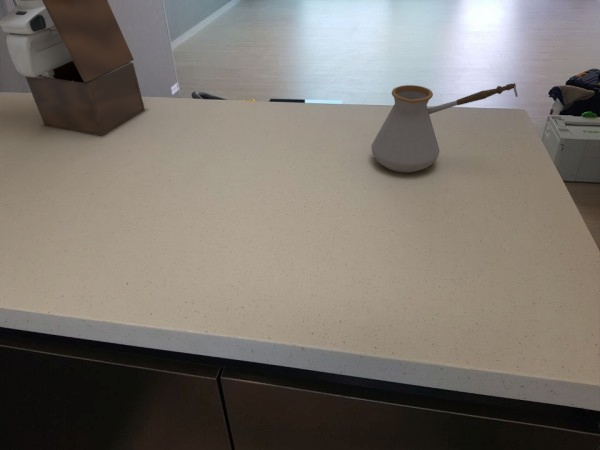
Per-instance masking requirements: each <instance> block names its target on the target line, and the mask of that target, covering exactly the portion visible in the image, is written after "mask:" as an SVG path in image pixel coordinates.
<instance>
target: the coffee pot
mask: <svg viewBox="0 0 600 450" xmlns="http://www.w3.org/2000/svg"><path fill="white" fill-rule="evenodd" d="M510 90H513V92H514V95H515V98H517V97H518V92H517V91H518V90H517V84H516V83H515V82H514V83H508V84H506V85H504V86H501V85H497V86H496V87H495V88H491V89H484V90H480V91H477V92H475V93H472V94H470V95H466V96H464V97H461V98H458V99H456V100H453V101H449V102H446V103H442V104H439V105H435V106H432V107H428V103H429V101H430V100H431V99H433V96H434V92H433V91H432V90H431V89H429V88H428V87H425V86H422V85H421V86H420V85H415V84H414V85H413V84H406V85H400V86H396V87H394V88H393V89H392V90H391V96H392V97H393V99H394V104H393V106H392V108H391V109H390V111H389V113H388V115H387V116H386V119H385V120H384V122H383V124H382V126H381V127H380V129H379V131H378V132H377V134H376V136H375V138H374V140H373V141H372V143H371V153H372V155H373V157H374V159H375V160H376V161H377V162H378V163H379V164H380V165H381V166H383V167H385V168H386V169H387V170H390V171H392V172H396V173H402V174H405V173H406V174H411V173H416V172H419V171H422V170H425V169H426V168H428V167H430V166H432V165H433V163H435V161H436V160H437V159H438V157H439V156H440V155H439V154H440V147H439V143H438V140H437V136H436V133H435V129H434V126H433V123H432V119H431V114H434V113H438V112H441V111H444V110H447V109H450V108H453V107H456V106H461V105H465V104H469V103H473V102H478V101H481V100H485V99H487V98H490V97H492V96H494V95H497V94H498V95H501V94H502V93H503V92H506V91H510Z"/></svg>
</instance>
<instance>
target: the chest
mask: <svg viewBox="0 0 600 450" xmlns="http://www.w3.org/2000/svg"><path fill="white" fill-rule="evenodd" d="M53 71H54V75H52V76H53V77H54V78H55V79H54V78H47V77H42V76H41V75H39V76H37V77H28V76H24V77H25V79H26V80H25V81H26V82H27V84H28V88H29V91H30V93H31V94H32V98H33V100H34V103H35V105H36V108H37V109H38V113H39V115H40V118H41V120H42V123H43V125H44V126H46V127H51V128H55V129H61V130H66V131H72V132H77V133H78V132H79V133H82V134H87V135H92V136H98V137H104V136H106V135H108V134H109V133H110V132H112V131H114V130H115V129H117V128H119V127H120V126H122V125H124V124H126V123H127V122H129V121H130V120H132V119H133V118H135V117H137V116H139V115H140V114H142V113H144V112H145V111H146V109H145V105H144V101H143V97H142V92H141V90H140V89H141V88H140V85H139V81H138V75H137V72H136V67H135V64H134V62H133V61H131V62H129V63H126V64H124V65H122V66H120V67H118V68H116V69H114V70H112V71H109V72H107V73H105V74H103V75H101V76H99V77H97V78H94V79H92V80H90V81H88V82H85V83H84V81H83V79H82V77H81V75H80V74H79V72H78V70H77V68H76V66H75V64H74V62H73V61H71V62H69V63H66V64H64V65H62V66H60V67H57V68H55V69H53ZM72 80H73V81H72Z"/></svg>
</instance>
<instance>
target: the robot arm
mask: <svg viewBox="0 0 600 450" xmlns="http://www.w3.org/2000/svg"><path fill="white" fill-rule="evenodd" d="M17 3H18V4H17V5H16V6H15V7H13V9H12V10H11V11H10V12H8V13H7V14H6V15H5V16H4V17H2V18H1V20H0V28H1V30H2V31H3V32H4V33H8V34H7V36H6V46H7V47H6V48H7V50H8V53H9V56H10V58H11V60H12V63H13V66H14V68H15V71H17V72H18V73H19V74H20V75H21V76H23V77H25V76H28V77H37V76H39V75H41V76H42V77H47V78H54V77H53V76H52V75H54V71H53V69H55V68H57V67H60V66H62V65H64V64H66V63H69V62H71V61H73V60H72V58H71V56H70V54H69V52H68V50H67V48H66V46H65V44H64V42H63V40H62V38H61V37H60V35H59V33H58V31H57V29H56V27H55V25H54V23H53V21H52V19H51V17H50V15H49V13H48V11H47V9H46V7H45V5H44V3H43V1H42V0H17ZM54 79H55V78H54Z"/></svg>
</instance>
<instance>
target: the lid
mask: <svg viewBox="0 0 600 450" xmlns="http://www.w3.org/2000/svg"><path fill="white" fill-rule="evenodd" d="M42 1H43V3H44V5H45V7H46V9H47V11H48V13H49V15H50V17H51V19H52V21H53V23H54V25H55V27H56V29H57V31H58V33H59V35H60V37H61V38H62V40H63V42H64V44H65V46H66V48H67V50H68V52H69V54H70V56H71V58H72V60H73V62H74V64H75V66H76V68H77V70H78V72H79V74H80V75H81V77H82V79H83V81H84V83H85V82H88V81H90V80H92V79H94V78H97V77H99V76H101V75H103V74H105V73H107V72H109V71H112V70H114V69H116V68H118V67H120V66H122V65H124V64H126V63H129V62H133V61H134V60H135V59H134V56H133V54H132V52H131V50H130V47H129V45H128V43H127V41H126V38H125V37H124V34H123V32H122V30H121V27H120V25H119V23H118V21H117V18H116V17H115V14H114V12H113V9H112V7H111V5H110V3H109V1H108V0H42Z"/></svg>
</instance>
